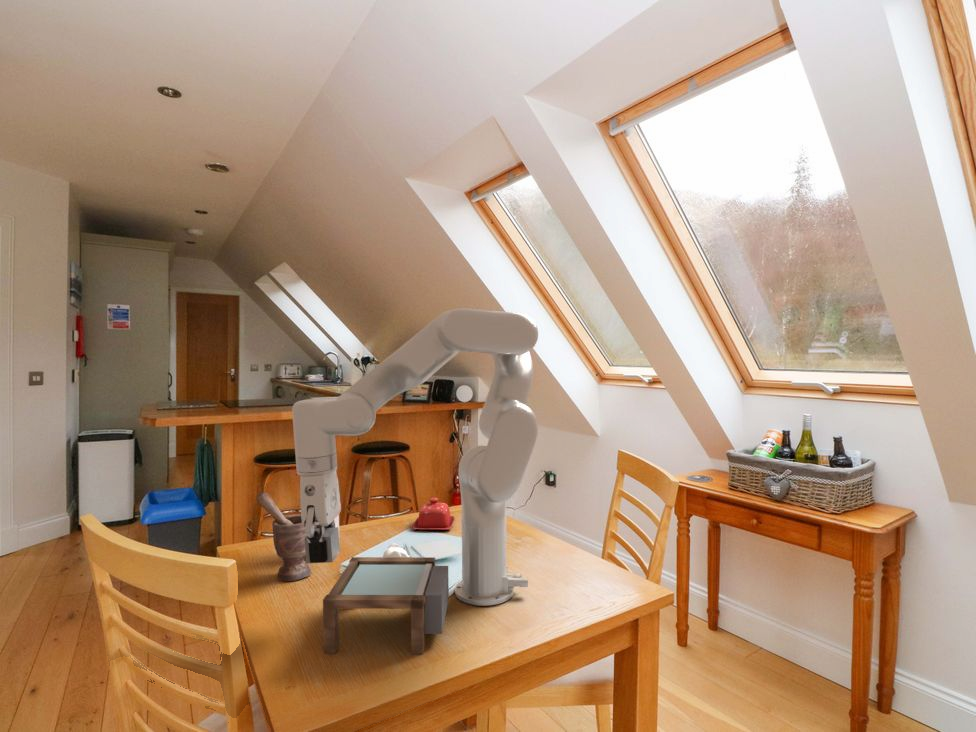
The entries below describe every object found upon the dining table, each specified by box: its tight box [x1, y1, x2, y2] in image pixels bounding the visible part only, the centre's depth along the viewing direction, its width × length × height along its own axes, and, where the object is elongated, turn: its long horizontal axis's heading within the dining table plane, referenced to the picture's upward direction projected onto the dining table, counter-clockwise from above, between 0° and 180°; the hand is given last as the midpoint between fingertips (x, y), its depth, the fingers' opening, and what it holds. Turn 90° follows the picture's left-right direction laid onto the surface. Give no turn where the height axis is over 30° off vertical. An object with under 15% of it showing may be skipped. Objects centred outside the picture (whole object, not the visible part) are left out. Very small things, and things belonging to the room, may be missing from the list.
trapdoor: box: [341, 564, 450, 635], centre depth 105 cm, size 18×15×7 cm
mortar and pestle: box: [256, 491, 312, 582], centre depth 128 cm, size 12×9×20 cm
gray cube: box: [305, 527, 341, 564], centre depth 108 cm, size 5×5×5 cm
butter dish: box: [412, 497, 456, 531], centre depth 163 cm, size 12×12×8 cm
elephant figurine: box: [382, 543, 414, 557], centre depth 131 cm, size 7×8×6 cm
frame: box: [322, 556, 436, 655], centre depth 105 cm, size 17×19×10 cm
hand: (323, 554), depth 108 cm, fingers closed on gray cube, 5 cm apart
